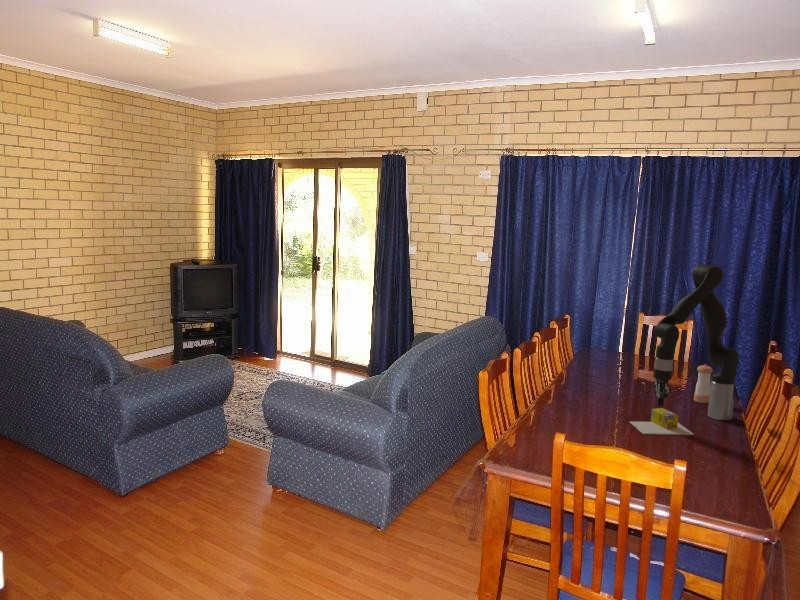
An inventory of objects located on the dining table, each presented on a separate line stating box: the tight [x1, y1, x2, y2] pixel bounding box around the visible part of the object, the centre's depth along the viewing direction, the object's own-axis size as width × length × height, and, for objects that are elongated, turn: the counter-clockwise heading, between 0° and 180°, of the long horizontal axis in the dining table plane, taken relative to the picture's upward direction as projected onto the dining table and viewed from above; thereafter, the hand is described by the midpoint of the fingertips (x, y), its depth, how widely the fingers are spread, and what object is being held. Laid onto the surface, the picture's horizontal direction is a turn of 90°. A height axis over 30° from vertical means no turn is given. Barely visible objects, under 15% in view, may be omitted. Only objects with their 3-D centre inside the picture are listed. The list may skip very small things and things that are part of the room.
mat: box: [629, 421, 695, 436], centre depth 253 cm, size 22×14×1 cm, turn 91°
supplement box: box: [649, 407, 679, 429], centre depth 256 cm, size 6×6×11 cm
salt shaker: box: [693, 363, 714, 404], centre depth 292 cm, size 7×7×19 cm
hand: (659, 405), depth 257 cm, fingers closed
